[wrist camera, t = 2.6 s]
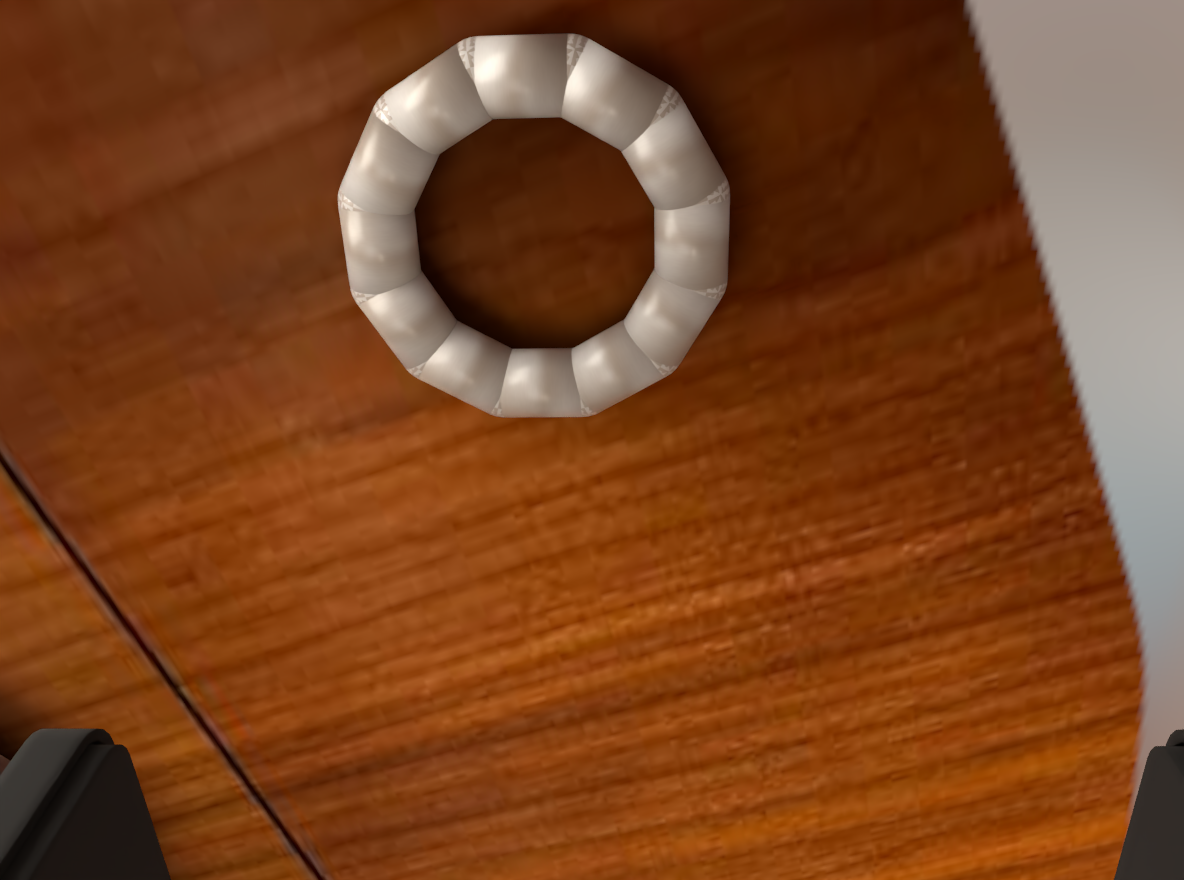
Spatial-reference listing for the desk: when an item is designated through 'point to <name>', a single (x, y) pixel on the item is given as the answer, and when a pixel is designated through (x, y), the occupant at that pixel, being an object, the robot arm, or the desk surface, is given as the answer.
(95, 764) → the robot arm
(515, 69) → the ring
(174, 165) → the desk surface
